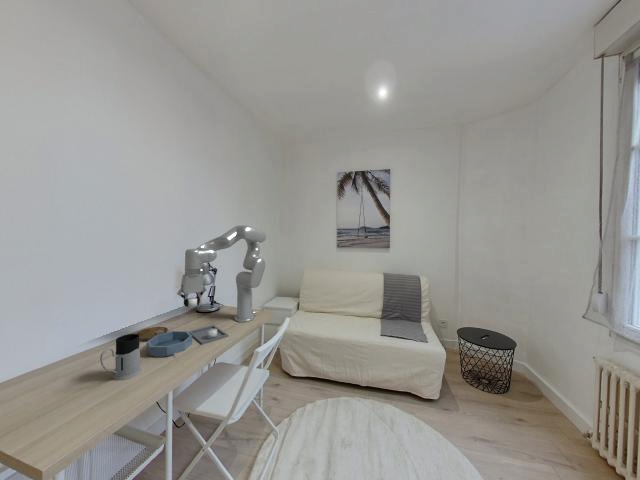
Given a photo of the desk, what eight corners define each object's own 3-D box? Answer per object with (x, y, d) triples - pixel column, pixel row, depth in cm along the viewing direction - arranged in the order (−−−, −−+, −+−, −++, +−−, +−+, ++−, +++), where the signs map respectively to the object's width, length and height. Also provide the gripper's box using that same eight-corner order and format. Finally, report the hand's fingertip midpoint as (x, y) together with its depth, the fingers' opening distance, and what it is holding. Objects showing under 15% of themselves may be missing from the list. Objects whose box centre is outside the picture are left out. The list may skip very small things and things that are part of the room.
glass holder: (146, 369, 104) (146, 334, 103) (109, 390, 90) (109, 350, 90) (130, 366, 106) (130, 332, 106) (92, 386, 93) (92, 346, 92)
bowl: (183, 337, 136) (183, 328, 136) (196, 348, 123) (196, 338, 123) (144, 347, 123) (144, 338, 123) (153, 361, 110) (153, 351, 110)
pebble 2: (214, 334, 137) (214, 327, 137) (218, 337, 134) (218, 330, 134) (205, 337, 134) (205, 330, 134) (209, 340, 130) (209, 333, 130)
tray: (213, 327, 149) (213, 324, 149) (228, 337, 136) (228, 334, 136) (188, 334, 139) (188, 331, 139) (202, 346, 126) (202, 342, 126)
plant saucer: (151, 344, 128) (151, 339, 127) (128, 340, 130) (128, 335, 130) (174, 332, 142) (174, 328, 142) (152, 329, 145) (152, 325, 145)
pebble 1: (195, 304, 138) (195, 297, 138) (198, 306, 134) (198, 298, 134) (185, 305, 134) (185, 298, 134) (188, 308, 131) (188, 300, 131)
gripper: (206, 269, 143) (205, 301, 143) (172, 272, 130) (172, 306, 131) (211, 271, 137) (210, 304, 138) (177, 274, 125) (176, 310, 126)
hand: (191, 305), depth 134 cm, fingers closed on pebble 1, 4 cm apart
